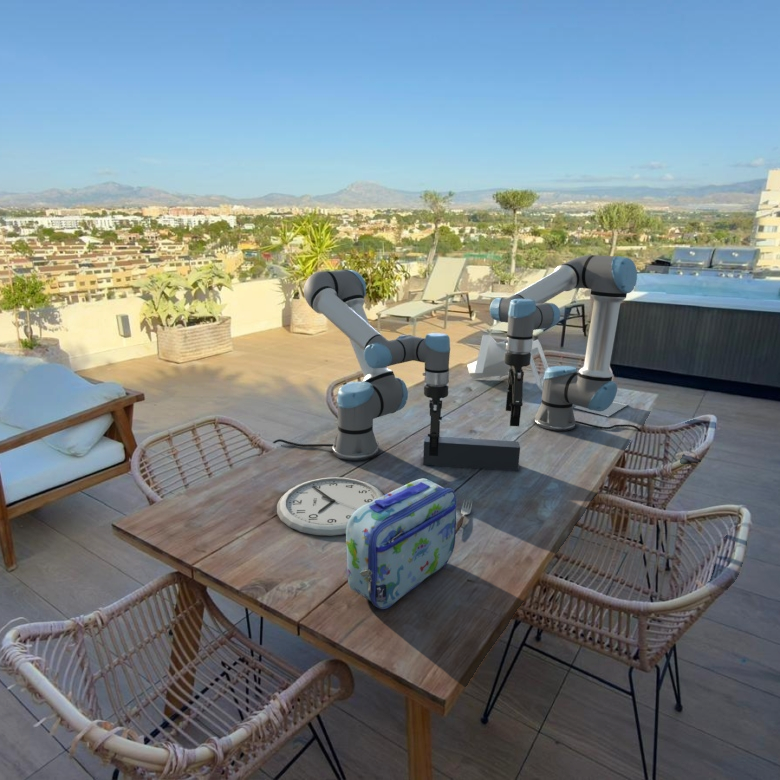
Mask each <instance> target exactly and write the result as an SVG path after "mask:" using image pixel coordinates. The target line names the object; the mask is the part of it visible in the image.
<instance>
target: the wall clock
mask: <svg viewBox="0 0 780 780" xmlns="http://www.w3.org/2000/svg"><path fill="white" fill-rule="evenodd" d="M384 495H385V494H384V493H383V492H382V491H381V490H380V489H379V488H377V487H376V486H375V485H372V484H371V483H369V482H366V481H363V480H359V479H355V478H349V477H338V476H337V477H335V476H333V477H332V476H331V477H322V478H317V479H312V480H307V481H305V482H302V483H299V484H297V485H295V486H294V487H292V488H290V489H288V490H287V491H286V492H285V493H284V494H283V495H281V497H280V498H279V500H278V502H277V503H276V515H277V516H278V518H279V520H280V521H281V522H282V523H283V524H285V525H286V526H287V527H288V528H290V529H293V530H295V531H297V532H300V533H304V534H308V535H312V536H313V535H314V536H327V537H328V536H329V537H331V536H342V535H346V528H347V524H348V521H349V519H350V517H351V515H352V514H353V513H354V512H355V511H356V510H357V509H358V508H360V507H362V506H364V505H366V504H368V503H370V502H372V501H374V500H376V499H378V498H380V497H382V496H384Z"/></svg>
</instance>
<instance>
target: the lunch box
mask: <svg viewBox="0 0 780 780" xmlns="http://www.w3.org/2000/svg"><path fill="white" fill-rule="evenodd" d="M456 498H457V496H456V493H455V491H454V489H452V488H450V487H443V486H441V485H439V484H438V483H436V482H433V481H432V480H430V479H427V478H423V477H422V478H418V479H416V480H413V481H411V482H409V483H406V484H405V485H402V486H400V487H398V488H396V489H394V490H392V491H390V492H388V493H386V494H384V496H382V497H380V498H378V499H376V500H374V501H372V502H370V503H368V504H366V505H364V506H362V507H360V508H358V509H357V510H356V511H355V512H354V513H353V514H352V515H351V517H350V519H349V521H348V524H347V528H346V534H345V547H346V549H345V550H346V572H347V573H346V575H347V584H348V587H349V589H350V590H351V591H353V592H355V593H357V594H358V595H361V596H363V597H364V598H365V599H367V600H368V601H369V602H371V604H372V605H373V606H374V607H376V608H377V609H380V610H386V609H389V608H391V607H393V605H395V603H397V602H398V601H399V600H400V599H402V598H403V597H404V596H405V595H408V593H410V592H411V591H412V590H413V589H415V588H416V587H417V586H419V585H420V584H421V583H423V581H424V580H425V579H427V578H428V577H430V576H431V575H433V574H435V573H437V572H438V571H439V570H441V569H442V568H443V567H444V566H446V564H447V563H448V562H449V560H450V559H451V556H452V555H453V552H454V548H455V544H456V535H455V533H456V528H457V499H456ZM456 534H457V533H456Z"/></svg>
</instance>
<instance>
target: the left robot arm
mask: <svg viewBox="0 0 780 780" xmlns="http://www.w3.org/2000/svg"><path fill="white" fill-rule="evenodd" d="M366 290H367V284H366V281H365V279H364V277H363V276H362V275H361V273H359V272H358V271H356V270H353V269H340V270H337V269H336V270H319V271H316V272H314V273H312V274H311V275H310V276H308V278H307V279H306V281H305V282H304V287H303V296H304V300H305V301H306V303H307V304H308V306H309V307H310V308H311V309H312V310H313V311H314V312H315V313H317V314H318V315H323V316H325V318H326V319H327V320H328V321H329V322H331V324H333V326H335V327H336V328H337V329H338V330H340V331H341V332H342V333H343V334H344V335H345V336H346V337H347V338H348V339H349V341H350V345H351V347H352V350H353V352H354V354H355V357H356V359H357V362H358V365H359V367H360V370H361V372H362V375H363V379H362V380H358V381H351V382H347V383H345V384H343V385H341V386H340V387H339V389H337V399H336V404H337V433H336V435H335V438H334V441H333V443H313V444H312V443H310V444H309V443H308V444H307V443H306V444H305V443H304V444H303V443H296V442H293V441H288V440H285V439H281V438H278V439H275V440H274V441H273V442H272V444H276V443H279V442H281V443H284V444H288V445H292V446H295V447H301V448H311V447H312V448H315V447H317V448H319V447H332V454H333V456H335V458H338V459H340V460H343V461H349V462H361V461H366V460H370V459H372V458H374V457H376V456H377V455H378V453H379V444H378V441H377V440H376V436H375V434H374V419H377V418H380V417H383V416H386V415H391V414H394V413H396V412H398V411H400V410H402V409H403V408H404V407H405V406H406V404H407V401H408V397H409V390H408V386H407V384H406V383H405V381H404V380H403V379H402V378H400V377H397V376H396V375H395V372H394V371H393V370H392V369H390V368H388V367H391V366H395V365H398V364H404V363H408V362H412V361H413V362H419V363H424V372H423V373H422V376H424V385H423V395H424V396H425V397H426V398H428V399H429V398H430V399H429V402H428V403H429V404H428V407H429V416H430V427H429V433H427V436H428V437H430V446H429V456H438V441H439V437H440V434H441V433H440V430H441V421H442V420H443V417H442V416H441V415H442V413H441V412H442V409H443V400H441V399H445V398H447V397H448V396H449V383H450V357H451V355H450V354H451V339H450V336H449V335H448V334H447V333H441V332H440V333H439V332H432V333H431V332H430V333H427V334H426V335H425V337H420V336H415V335H411V334H401V335H399V336H398V337H396V338H395V339H391V340H388V339H387V338H386V337H385V336H383V335H382V334H381V333H380V332H379V331H378V330H377V329H375V328H374V327H373V326H372V325H371V324H370V321H369V318H368V316H367V314H366V311H365V308H364V305H365V302H366V300H365V297H366V294H367V291H366Z"/></svg>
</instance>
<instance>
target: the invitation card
mask: <svg viewBox="0 0 780 780" xmlns="http://www.w3.org/2000/svg"><path fill="white" fill-rule="evenodd" d="M627 406H628V404H627V403H623V402H618V401H614V400H613V402H612V404H611V405H610V406H609V407H608V408H607V409H606V410H604V411H595V410H589V409H588V408H584V407H581V406H577V405H575V406H574V407H573V409H575V410H580V411H584V412H587V413H592V414H594V415H595V414H596V415H600V416H603V417H608V418H609V417H611V416H612V415H614V414H616V413H617V412H619V411H620V410H622V409H624V408H625V407H627Z"/></svg>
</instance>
